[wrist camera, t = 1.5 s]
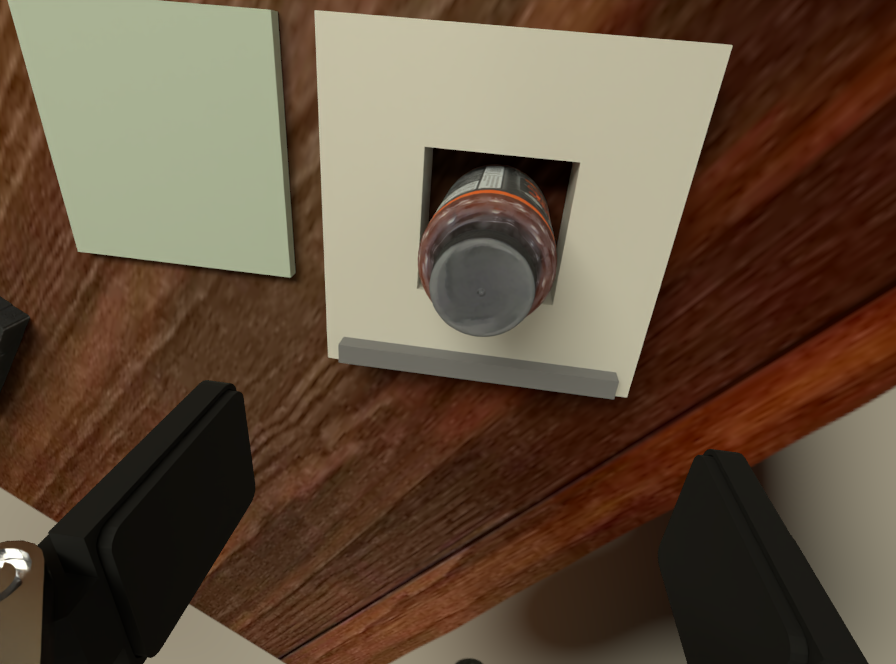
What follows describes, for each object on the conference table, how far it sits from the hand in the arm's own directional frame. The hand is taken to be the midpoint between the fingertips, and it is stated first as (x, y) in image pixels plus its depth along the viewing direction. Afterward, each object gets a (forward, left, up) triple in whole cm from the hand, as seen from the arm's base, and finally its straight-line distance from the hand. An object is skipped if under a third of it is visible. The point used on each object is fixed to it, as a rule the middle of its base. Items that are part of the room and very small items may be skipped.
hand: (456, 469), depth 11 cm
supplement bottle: (0, 0, -21) cm, 21 cm away
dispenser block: (0, 0, -21) cm, 21 cm away
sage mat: (-2, -19, -21) cm, 28 cm away
